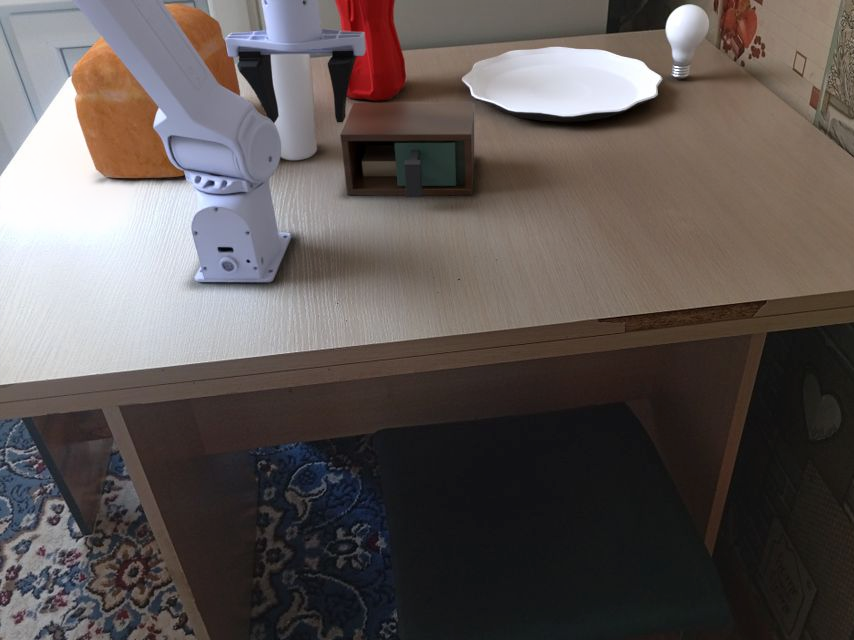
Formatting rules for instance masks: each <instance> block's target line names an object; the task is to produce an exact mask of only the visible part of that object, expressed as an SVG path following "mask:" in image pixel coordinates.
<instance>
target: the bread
mask: <svg viewBox="0 0 854 640" xmlns="http://www.w3.org/2000/svg"><path fill="white" fill-rule="evenodd" d="M164 4H165V6H166V7H167V9H168V10H169V12H170V13H171V15H172V16H173V18H174V19H175V20H176V22H177V23H178V25H179V26H180V28H181V29H182V31H183V32H184V34H185V35H186V37H187V38H188V40H189V41H190V43H191V44H192V45H193V47H194V48H195V50H196V51H197V53H198V54H199V56H200V57H201V59H202V60H203V62H204V63H205V65H206V66H207V67H208V69H209V70H210V72H211V73H212V75H213V76H214V78H215V79H216V81H217V82H218V84H220V85H221V86H223V87H224V88H226V89H228V90H230V91H232V92H233V93H235V94H237V95H239V96H241V89H240V83H239V79H238V74H237V70H236V69H237V68H236V63H235V57H229V56H228V51H227V46H226V41H225V38H224V36H223V31H222V27H221V25H220V23H219V21H218V20H217V19H215V18H214V17H213V16H211V15H209V14H208V13H207V12H206V11H203V10H202V9H201V8H197V7H193V6H189V5H186V4H183V3H178V2H176V3H164ZM71 73H72V74H71V77H70V81H71V84H72V86H73V88H74V91H75V93H76V95H75V98H74V103H75V104H74V105H75V111H76V117H77V120H78V124H79V126H80V129H81V132H82V136H83V138H84V142H85V144H86V147H87V150H88V152H89V154H90V155H89V156H90V158H91V160H92V163H93V165H94V168H95V170H96V171H97V172H99V174H101V175H102V176H103V177H107V178H112V179H115V178H116V179H154V178H156V179H157V178H159V179H160V178H175V177H182V176H183V177H184V176H185V173H184V170H180V169H178V168H177V167H175V166H174V165H173V164H172V163H171V161H170V160H169V158H168V156H167V153H166V150H165V146H164V143H163V141H162V139H161V137H160V136H159V134H158V133H157V132H156V131H155V129H154V128H153V125H154V121H155V117H156V113H157V111H158V109H159V107H158V106H157V104H156V103H155V102H154V101H153V99H152V98H151V97H150V96H149V94H148V93H147V92H146V91H145V89H144V88H143V87H142V86H141V85H140V83H139V82H138V81H137V80H136V78H135V77H134V76H133V75H132V73H131V72H130V71H129V70H128V68H127V67H126V66H125V65H124V63H123V62H122V61H121V60H120V59H119V57H118V56H117V55H116V54H115V52H114V51H113V50H112V49H111V47H110V46H109V45H108V44H107V42H106V41H105V40H104V39H103V37H102V36H100V37H98V39H97V40H96V41H95V42H94V44H93V45H92V46H91V47H90V48H89V49H88V51H86V53H84V55H82V57H81V58H80V59H79V60H78V61H77V62H76V63H75V64H74V66H73V69H72V72H71Z"/></svg>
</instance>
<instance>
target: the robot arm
mask: <svg viewBox="0 0 854 640" xmlns="http://www.w3.org/2000/svg"><path fill="white" fill-rule="evenodd" d="M72 2H73V3H74V4H75V6H76V7H77V8H78V10H80V12H81V13H82V14H83V15H84V17H85V18H86V19H87V20H88V21H89V23H90V24H91V25H92V26H93V28H94V29H95V30H96V31H97V33H98V34H99V35H100V37H103V39H104V40H105V41H106V42H107V44H108V45H109V46H110V47H111V49H112V50H113V51H114V52H115V54H116V55H117V56H118V57H119V59H120V60H121V61H122V62H123V63H124V65H125V66H126V67H127V68H128V70H129V71H130V72H131V73H132V75H133V76H134V77H135V78H136V80H137V81H138V82H139V83H140V85H141V86H142V87H143V88H144V89H145V91H146V92H147V93H148V94H149V96H150V97H151V98H152V99H153V101H154V102H155V103H156V104H157V106H158V107H159V109H158V111H157V113H156V117H155V121H154V125H153V128H154V129H155V131H156V132H157V133H158V134H159V136H160V137H161V139H162V141H163V143H164V146H165V150H166V153H167V156H168V158H169V160H170V161H171V163H172V164H173V165H174V166H175V167H177V168H178V169H180V170H184V173H185V175H184V176H185V181H186V182H188V183H191V184H192V185H193V188H194V192H195V196H196V207H195V208H196V209H195V212H194V214H193V216H192V219H191V223H190V231H191V235H192V238H193V242H194V246H195V250H196V254H197V258H198V261H199V265H200V267H199V268H198V270H197V272H196V274H195V275H194V281H195V282H197V283H271V282H273V281H274V279H275V277H276V275H277V273H278V270H279V267H280V266H281V263H282V260H283V258H284V256H285V254H286V251H287V248H288V247H289V244H290V242H291V239H292V233H291V232H288V231H287V232H286V231H285V232H283V231H282V232H280V231H279V228H278V224H277V219H276V213H275V208H274V203H273V197H272V192H271V187H270V181H269V180H270V179H271V178H272V176H273V175H274V174H275V171H276V170H277V168H278V167H279V163H280V160H281V157H280V156H281V141H280V136H279V133H278V130H277V128H276V126H275V124H274V123H275V121H276V120H277V118H278V116H279V115H278V106H277V101H276V96H275V91H274V86H273V79H272V68H271V55H272V54H310V55H332V56H331V57H330V58H329V60H328V62H327V69H328V72H329V76H330V81H331V87H332V92H333V103H334V117H335V122H336V124H337V123H338V124H340V123H341V124H342V123H344V121H345V120H346V105H347V98H348V97H347V90H348V85H349V81H350V77H351V73H352V70H353V66H354V63H355V60H356V57H357V56H364V54H365V51H366V44H365V33H364V32H350V31H341V30H338V29H329V28H322V20H321V13H320V5H319V0H261V6H262V12H263V18H264V25H265V30H264V29H263V30H256V31H255V30H254V31H246V32H230V33H229V34H228V35H226V37H225V38H224V40H225V41H226V46H227V51H228V56H229V57H233V58H237V57H238V62H237V63H236V66H237V69H238V72H239V73H240V75H241V76H242V77H243V78H244V80H246V82H247V84H248V85H249V86H250V88H251V89H252V90H253V92H254V94H255V95H256V97H257V99H258V101H259V103H260V104H261V107H262V109H263V111H264V114H265V115H263V114H261V113H260V112H258V110H257V109H256V107H255V106H254V104H253V103H252V102H251V101H249V100H247V99H246V98H244V97H242V96H241V95H240V96H239V95H237V94H235V93H233V92H232V91H230V90H228V89H226V88H224V87H223V86H221V85H220V84H218V82H217V81H216V79H215V78H214V76H213V75H212V73H211V72H210V70H209V69H208V67H207V66H206V65H205V63H204V62H203V60H202V59H201V57H200V56H199V54H198V53H197V51H196V50H195V48H194V47H193V45H192V44H191V43H190V41H189V40H188V38H187V37H186V35H185V34H184V32H183V31H182V29H181V28H180V26H179V25H178V23H177V22H176V20H175V19H174V18H173V16H172V15H171V13H170V12H169V10H168V9H167V7H166V6H165V4H166V3H164V1H163V0H72Z"/></svg>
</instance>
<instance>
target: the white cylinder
mask: <svg viewBox="0 0 854 640" xmlns="http://www.w3.org/2000/svg"><path fill="white" fill-rule="evenodd" d="M271 68H272V79H273V86H274V91H275V96H276V101H277V106H278V115H279V116H278V118H277V120H276V121H275V123H274V124H275V126H276V128H277V130H278V133H279V136H280V141H281V156H280V159H283V160H286V161H302V160H306V159H309V158H311V157H312V156H314V155H315V154H316V153H317V151H318V142H317V134H316V117H315V102H314V101H315V100H314V84H313V83H314V80H313V79H314V78H313V69H312V68H313V67H312V59H311V54H272V55H271Z"/></svg>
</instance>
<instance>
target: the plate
mask: <svg viewBox="0 0 854 640" xmlns="http://www.w3.org/2000/svg"><path fill="white" fill-rule="evenodd" d="M663 80H664V79H663V77H662V75H660V74H658V73H656V71H653V70H652V69H650V68H649V67H648V66H647V65H646V63H645V62H643V61H642V60H639V59H636V58H632V57H627V56H622V55H618V54H616V53H613V52H610V51H607V50H602V49H593V48H592V49H590V48H589V49H588V48H573V47H565V46H548V47H542V48H534V49H516V50H510V51H506V52H504V53H502V54H499V55H497V56H494V57H490V58H486V59H481V60H479V61H476V62H475V63H474V64H473V66H472V68H471V70H470V71H469V72H467V73H466V74H465V75H463V76H462V77H461V82H462V83H463V84H464V85H465V86H466V87H467V88H468V89H469V91H470V94H471V95H470V96H471V97H472V98H473V99H475V100H476V101H479V102H482V103H484V104H488V105H490V106H491V107H493V108H494V109H497V110H498V111H501V112H502V113H506V114H508V115H512V116H515V117H519V118H522V119H526V120H527V119H528V120H534V121H541V122H555V123H557V122H558V123H575V122H589V121H595V120H596V121H597V120H601V119H607V118H611V117H614V116H617V115H620V114H623V113H624V112H626V111H628V110H630V109H633V108H636V107H638V106H640V105H642V104H643V105H644V104H646V103H647V102H649V101H651V100H654V99H655V98H657V97H658V96H659V93H658V91H659V90H658V87H660V84H662V82H663Z"/></svg>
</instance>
